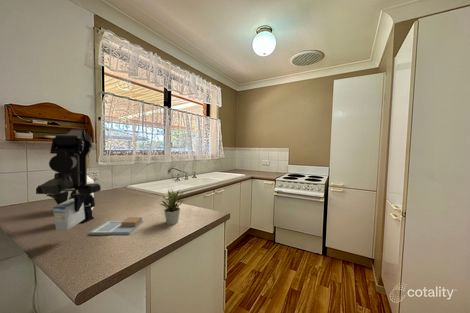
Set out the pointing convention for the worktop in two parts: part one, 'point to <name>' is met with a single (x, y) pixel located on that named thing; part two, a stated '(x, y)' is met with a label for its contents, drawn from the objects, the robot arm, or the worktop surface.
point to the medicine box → (67, 215)
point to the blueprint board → (118, 227)
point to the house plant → (172, 207)
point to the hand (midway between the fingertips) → (70, 211)
